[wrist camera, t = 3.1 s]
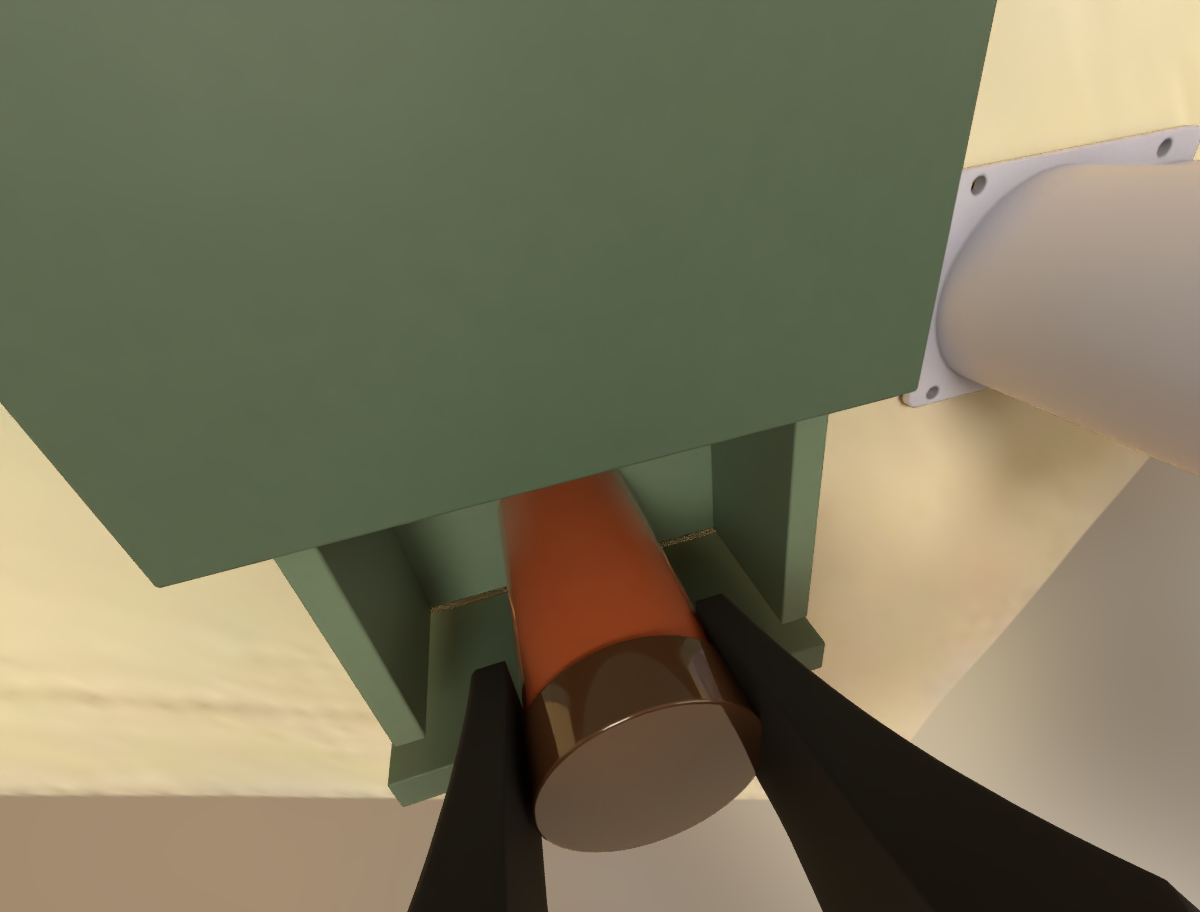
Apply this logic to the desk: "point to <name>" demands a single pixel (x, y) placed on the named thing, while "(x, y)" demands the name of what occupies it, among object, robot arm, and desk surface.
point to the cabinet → (454, 244)
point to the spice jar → (616, 674)
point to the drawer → (483, 628)
